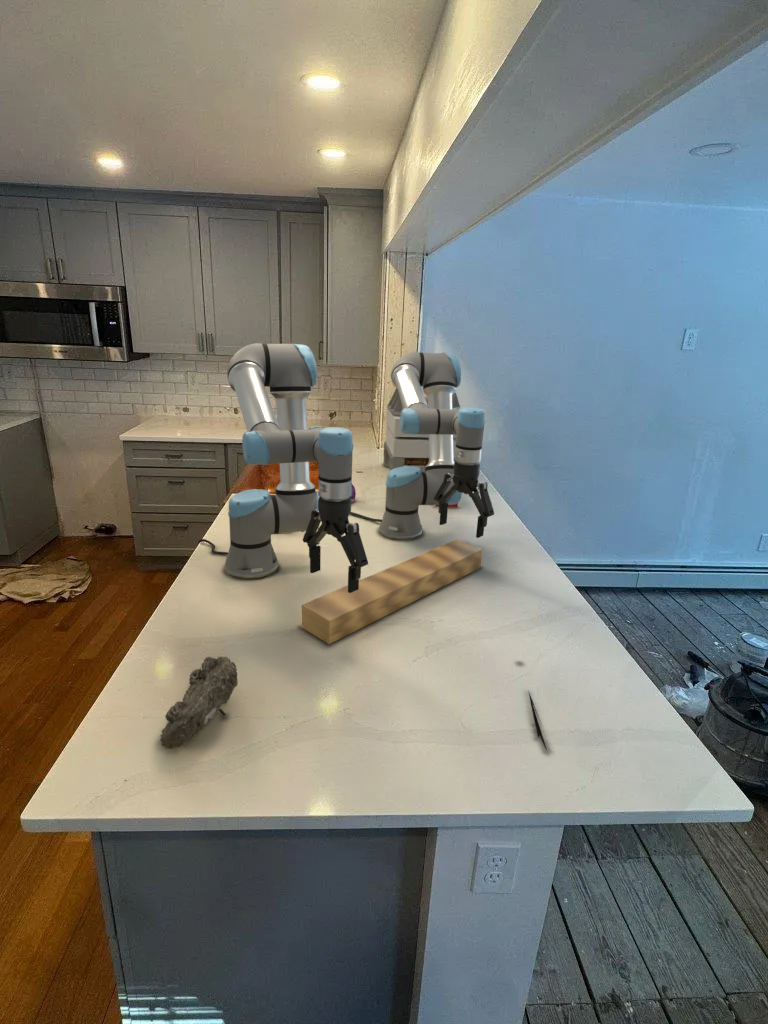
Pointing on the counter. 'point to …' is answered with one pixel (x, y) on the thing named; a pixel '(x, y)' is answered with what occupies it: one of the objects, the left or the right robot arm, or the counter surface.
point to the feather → (536, 721)
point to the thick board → (388, 590)
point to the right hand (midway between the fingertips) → (460, 530)
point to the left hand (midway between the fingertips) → (333, 580)
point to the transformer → (406, 438)
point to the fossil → (200, 701)
